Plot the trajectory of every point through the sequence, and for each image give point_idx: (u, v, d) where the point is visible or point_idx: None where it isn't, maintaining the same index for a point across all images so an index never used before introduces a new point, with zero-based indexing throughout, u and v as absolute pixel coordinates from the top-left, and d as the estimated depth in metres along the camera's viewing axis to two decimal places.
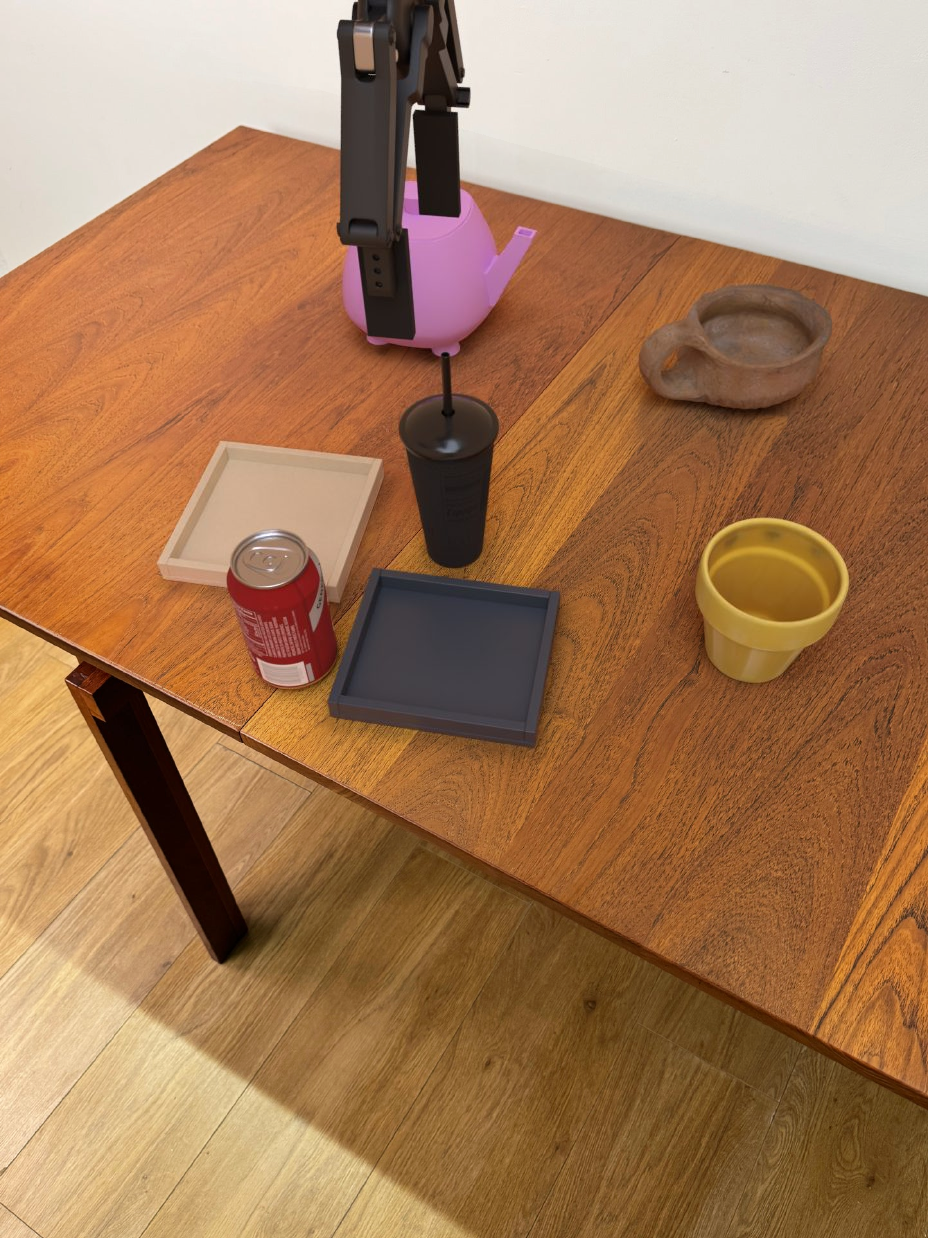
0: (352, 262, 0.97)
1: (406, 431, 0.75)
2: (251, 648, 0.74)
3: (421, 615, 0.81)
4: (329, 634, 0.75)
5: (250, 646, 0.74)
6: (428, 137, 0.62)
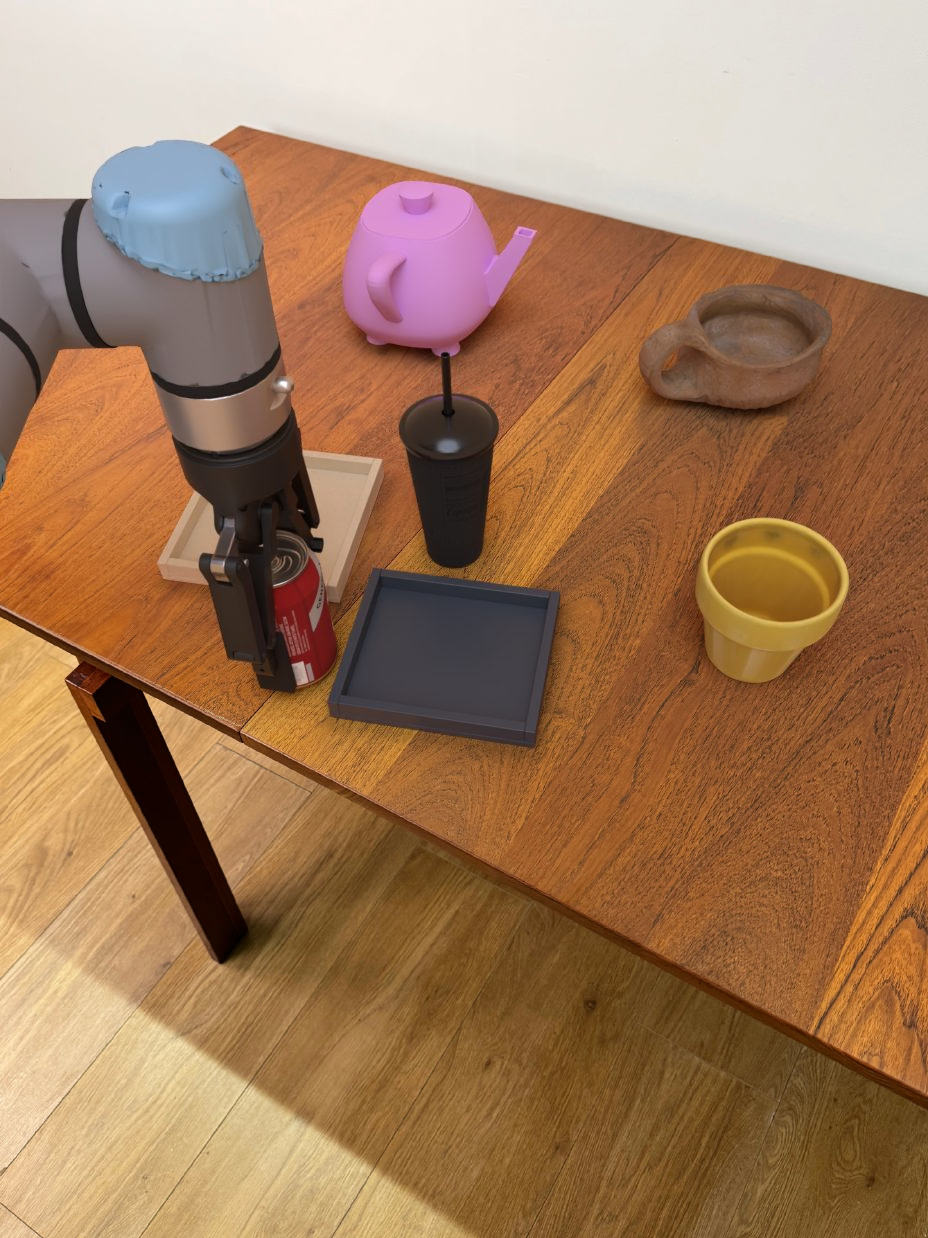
0: (352, 262, 0.97)
1: (406, 431, 0.75)
2: None
3: (421, 615, 0.81)
4: (328, 634, 0.75)
5: None
6: None
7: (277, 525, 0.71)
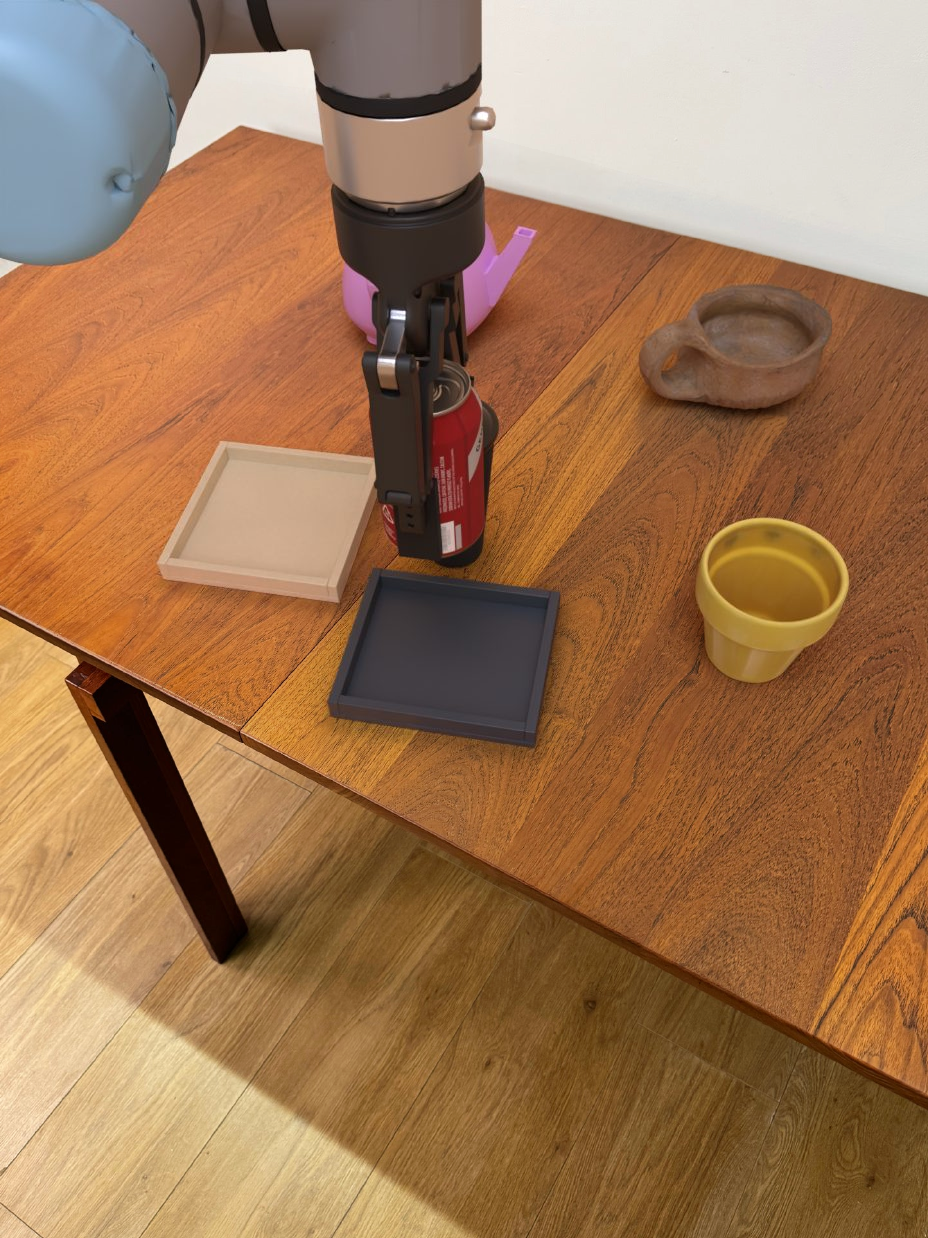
0: None
1: None
2: (392, 505, 0.62)
3: (421, 615, 0.81)
4: (482, 490, 0.63)
5: None
6: None
7: None
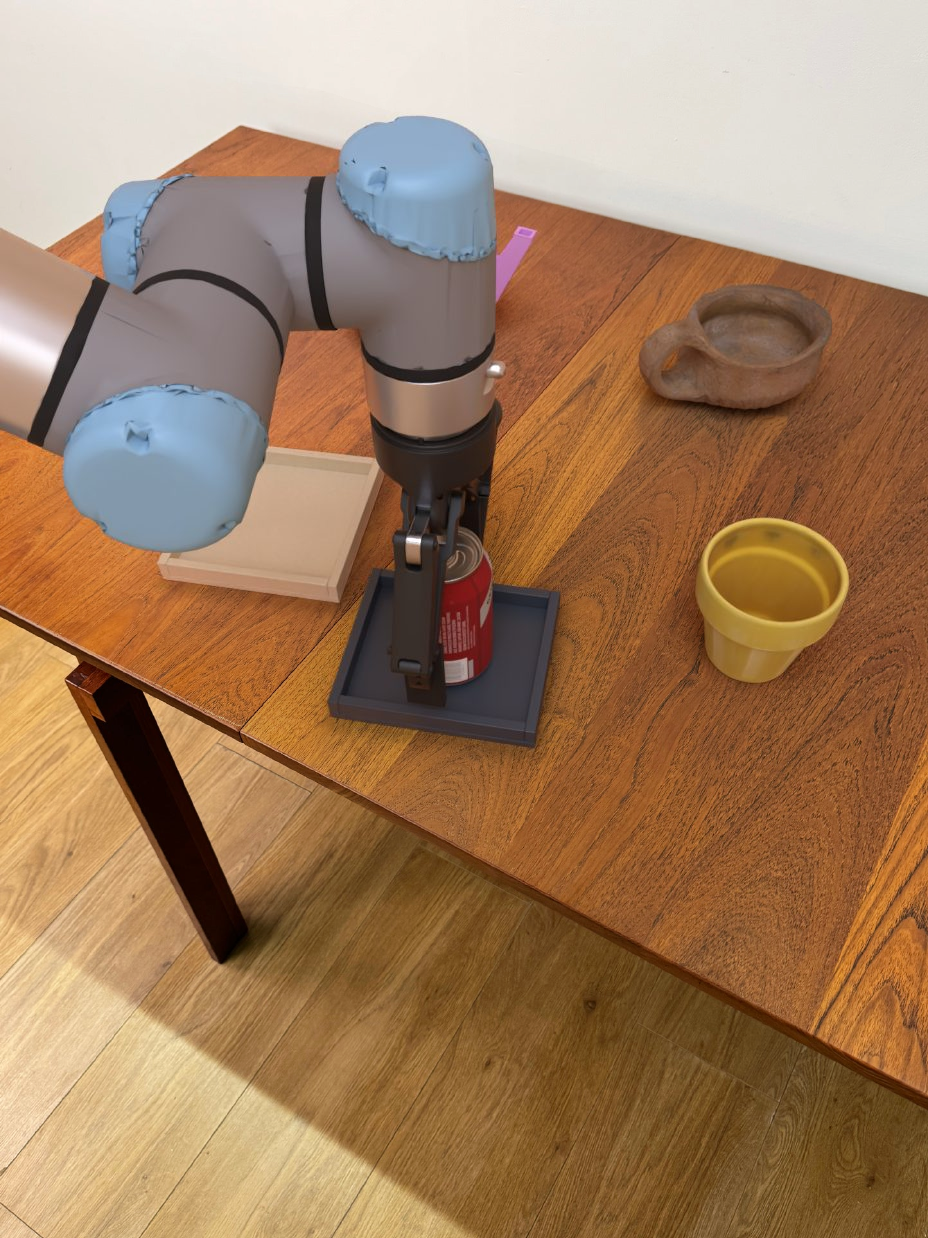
0: None
1: None
2: None
3: None
4: (491, 630, 0.74)
5: None
6: None
7: None
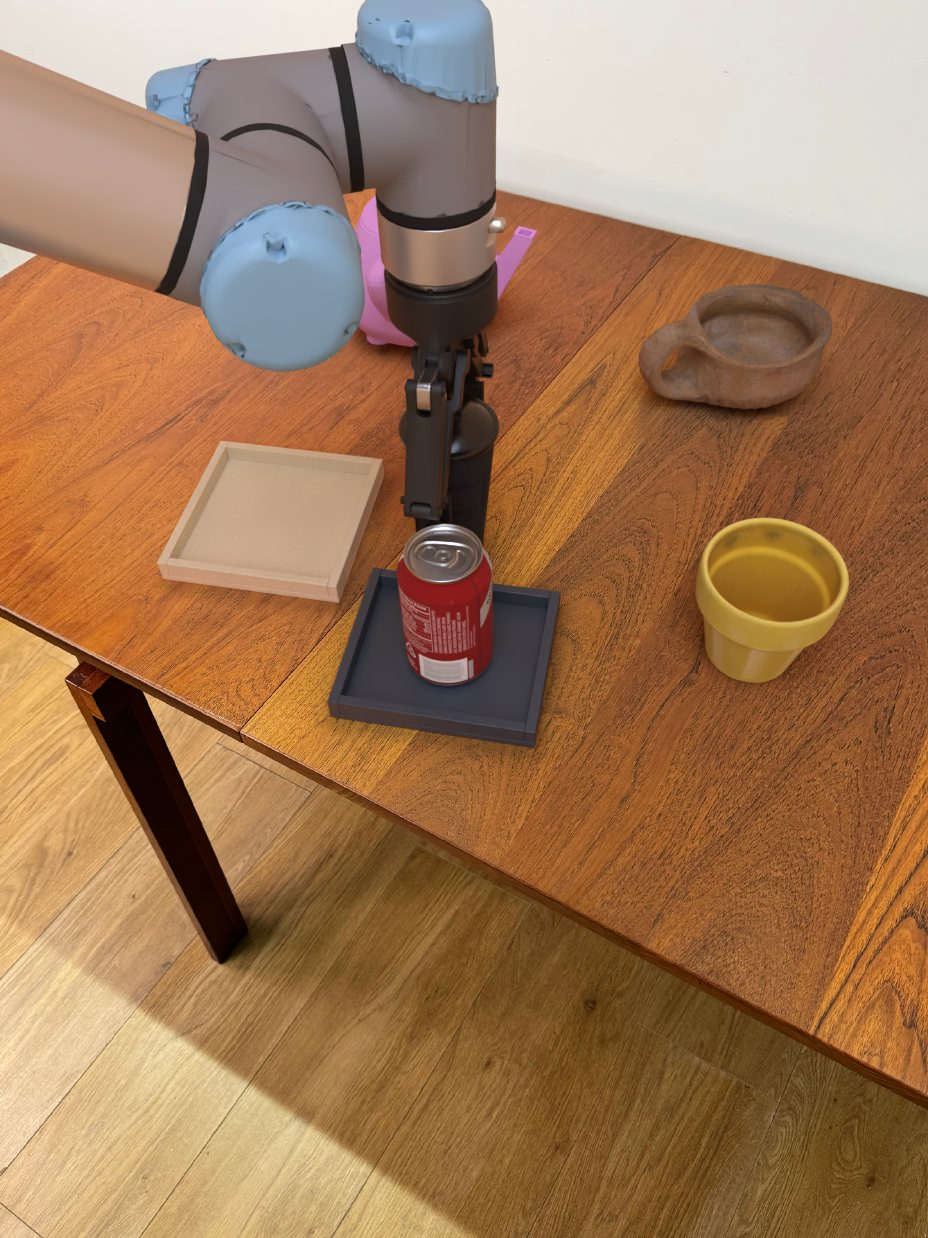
0: None
1: None
2: (414, 644, 0.73)
3: None
4: (491, 630, 0.74)
5: (414, 642, 0.73)
6: None
7: None
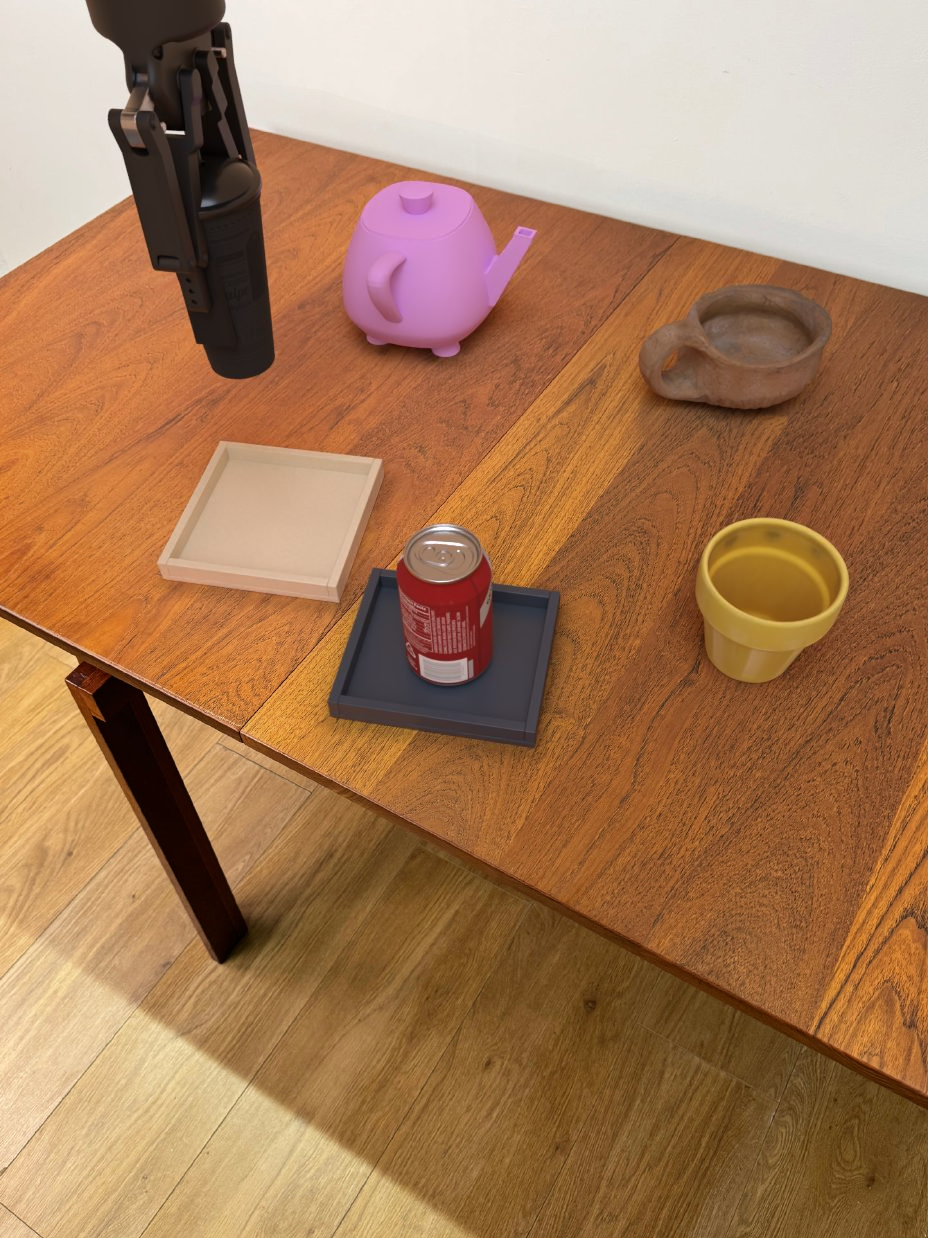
0: (352, 262, 0.97)
1: None
2: (414, 644, 0.73)
3: None
4: (491, 630, 0.74)
5: (414, 642, 0.73)
6: None
7: (206, 146, 0.64)
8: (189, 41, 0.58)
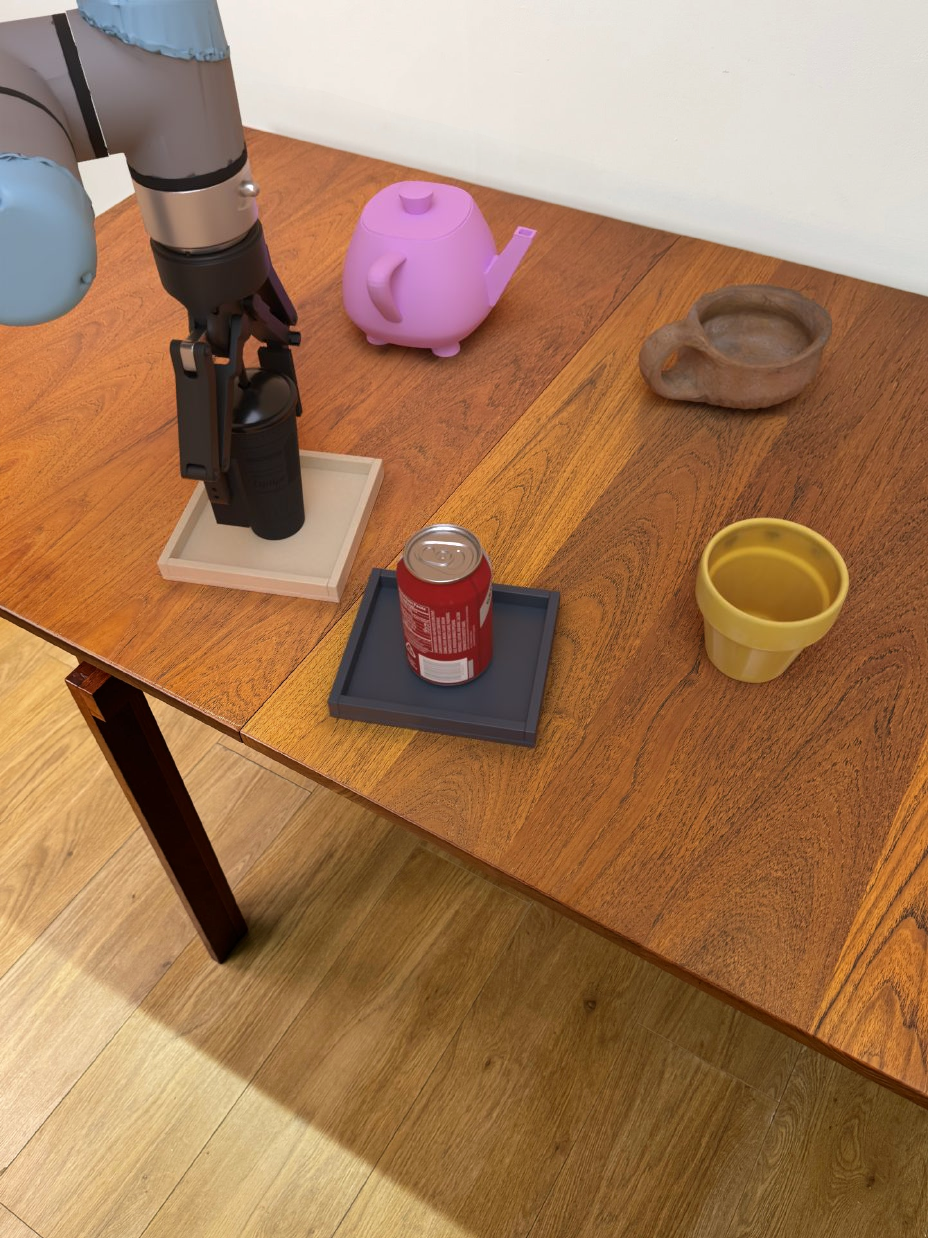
0: (352, 262, 0.97)
1: None
2: (414, 644, 0.73)
3: None
4: (490, 630, 0.74)
5: (414, 642, 0.73)
6: (270, 365, 0.83)
7: (255, 329, 0.78)
8: None
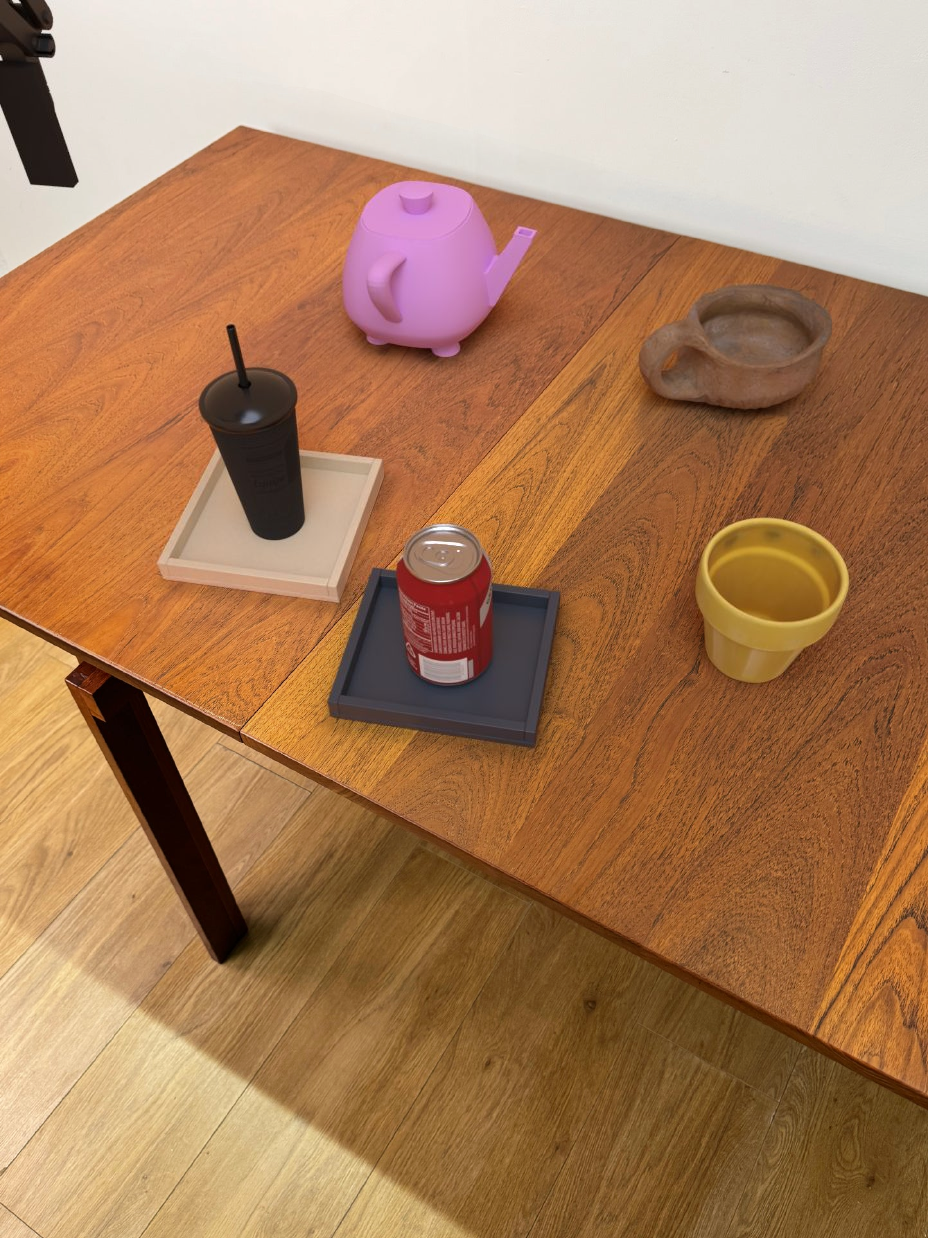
0: (352, 262, 0.97)
1: (204, 403, 0.77)
2: (414, 644, 0.73)
3: None
4: (490, 630, 0.74)
5: (414, 642, 0.73)
6: (11, 92, 0.54)
7: None
8: None
